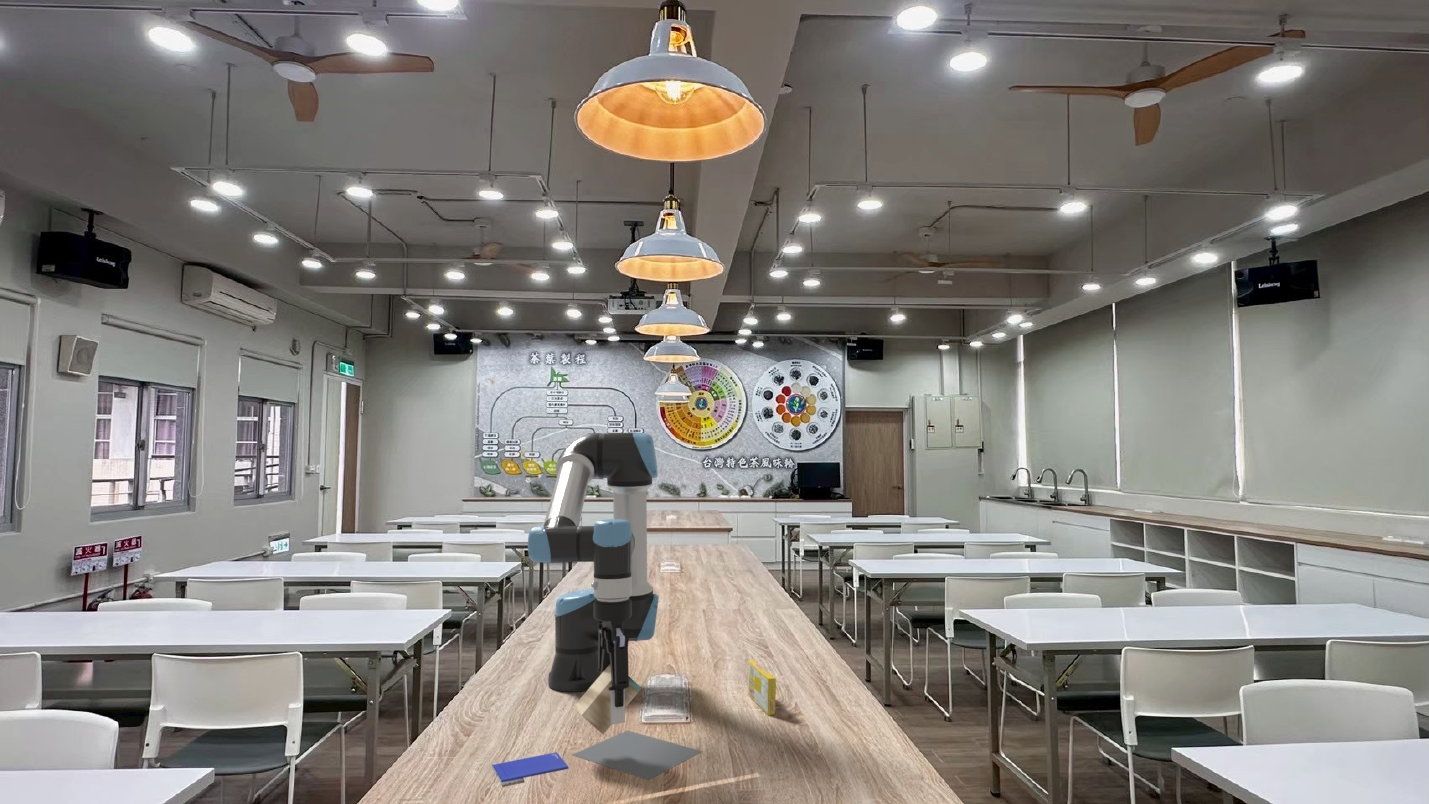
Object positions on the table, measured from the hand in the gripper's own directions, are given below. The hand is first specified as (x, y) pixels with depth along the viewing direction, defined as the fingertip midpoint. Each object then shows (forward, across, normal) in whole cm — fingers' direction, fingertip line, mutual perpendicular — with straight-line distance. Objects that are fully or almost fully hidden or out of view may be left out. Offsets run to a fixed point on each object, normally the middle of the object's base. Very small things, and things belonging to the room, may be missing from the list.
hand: (612, 717), depth 152 cm
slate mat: (+7, +2, +4) cm, 9 cm away
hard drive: (+8, 0, -16) cm, 18 cm away
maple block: (0, 0, -5) cm, 5 cm away
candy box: (+8, -16, +40) cm, 44 cm away
